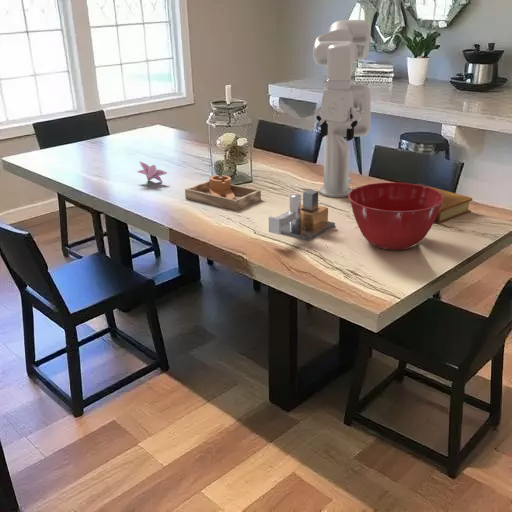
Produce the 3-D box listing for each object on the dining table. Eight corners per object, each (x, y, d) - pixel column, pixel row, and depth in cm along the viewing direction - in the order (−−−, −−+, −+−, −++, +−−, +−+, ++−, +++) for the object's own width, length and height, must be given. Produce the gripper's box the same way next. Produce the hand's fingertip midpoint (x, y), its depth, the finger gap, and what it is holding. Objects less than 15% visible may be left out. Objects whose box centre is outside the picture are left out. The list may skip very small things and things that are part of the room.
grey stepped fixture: (300, 217, 219) (300, 181, 214) (334, 225, 211) (336, 188, 206) (256, 240, 201) (255, 201, 195) (292, 250, 193) (292, 210, 187)
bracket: (208, 192, 247) (208, 175, 245) (228, 191, 249) (229, 174, 246) (214, 207, 231) (214, 189, 228) (236, 206, 233) (236, 188, 230)
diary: (384, 209, 227) (385, 194, 224) (417, 198, 237) (418, 183, 235) (438, 225, 210) (439, 209, 208) (470, 213, 221) (472, 197, 218)
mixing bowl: (328, 242, 197) (329, 196, 191) (381, 219, 216) (384, 176, 209) (405, 268, 179) (409, 217, 173) (456, 240, 197) (461, 193, 191)
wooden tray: (211, 188, 252) (210, 179, 251) (260, 199, 238) (260, 190, 237) (185, 198, 241) (184, 189, 240) (236, 210, 227) (235, 201, 226)
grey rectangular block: (302, 223, 211) (303, 192, 206) (308, 220, 213) (309, 189, 209) (311, 225, 208) (312, 194, 204) (317, 222, 211) (318, 191, 207)
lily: (170, 188, 257) (171, 165, 258) (147, 182, 249) (148, 159, 250) (152, 191, 266) (153, 169, 267) (129, 186, 257) (130, 163, 258)
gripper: (309, 84, 202) (308, 137, 209) (356, 89, 192) (354, 144, 199) (321, 81, 207) (320, 132, 215) (368, 85, 198) (365, 139, 205)
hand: (336, 138), depth 207 cm, fingers open, 9 cm apart
